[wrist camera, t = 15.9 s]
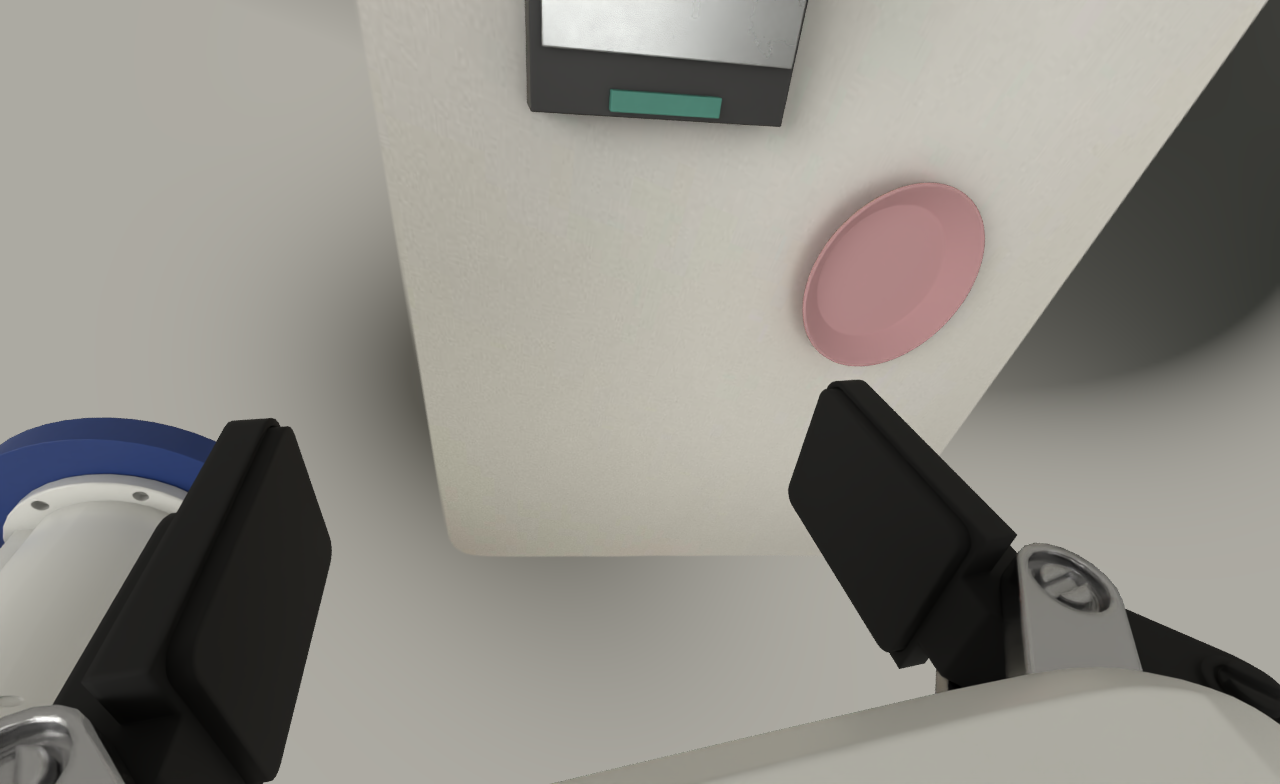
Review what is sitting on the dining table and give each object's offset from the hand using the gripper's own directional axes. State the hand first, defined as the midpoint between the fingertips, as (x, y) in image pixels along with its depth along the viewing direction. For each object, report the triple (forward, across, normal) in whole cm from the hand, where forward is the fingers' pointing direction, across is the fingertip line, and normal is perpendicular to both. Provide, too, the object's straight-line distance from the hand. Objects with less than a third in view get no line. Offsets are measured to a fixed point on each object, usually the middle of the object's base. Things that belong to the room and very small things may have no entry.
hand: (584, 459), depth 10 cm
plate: (+26, -27, +8) cm, 39 cm away
